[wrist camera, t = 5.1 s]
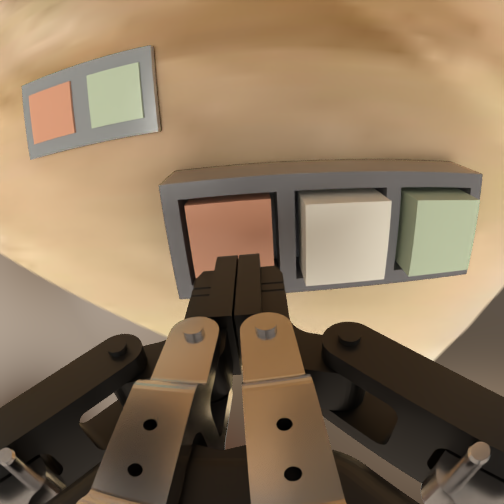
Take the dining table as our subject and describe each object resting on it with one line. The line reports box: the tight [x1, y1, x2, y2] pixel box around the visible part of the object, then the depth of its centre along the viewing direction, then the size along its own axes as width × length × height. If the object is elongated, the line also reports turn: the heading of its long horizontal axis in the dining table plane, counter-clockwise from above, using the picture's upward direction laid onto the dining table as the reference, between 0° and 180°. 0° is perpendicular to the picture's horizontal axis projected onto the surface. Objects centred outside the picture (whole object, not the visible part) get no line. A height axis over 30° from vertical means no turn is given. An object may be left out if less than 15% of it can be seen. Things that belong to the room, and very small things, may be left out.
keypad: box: [159, 159, 482, 299], centre depth 17 cm, size 6×17×4 cm, turn 94°
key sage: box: [395, 187, 480, 277], centre depth 15 cm, size 4×4×2 cm
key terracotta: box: [184, 192, 274, 278], centre depth 17 cm, size 4×4×2 cm
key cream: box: [298, 188, 392, 286], centre depth 16 cm, size 4×4×2 cm
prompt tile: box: [22, 45, 161, 160], centre depth 15 cm, size 5×9×1 cm, turn 94°
